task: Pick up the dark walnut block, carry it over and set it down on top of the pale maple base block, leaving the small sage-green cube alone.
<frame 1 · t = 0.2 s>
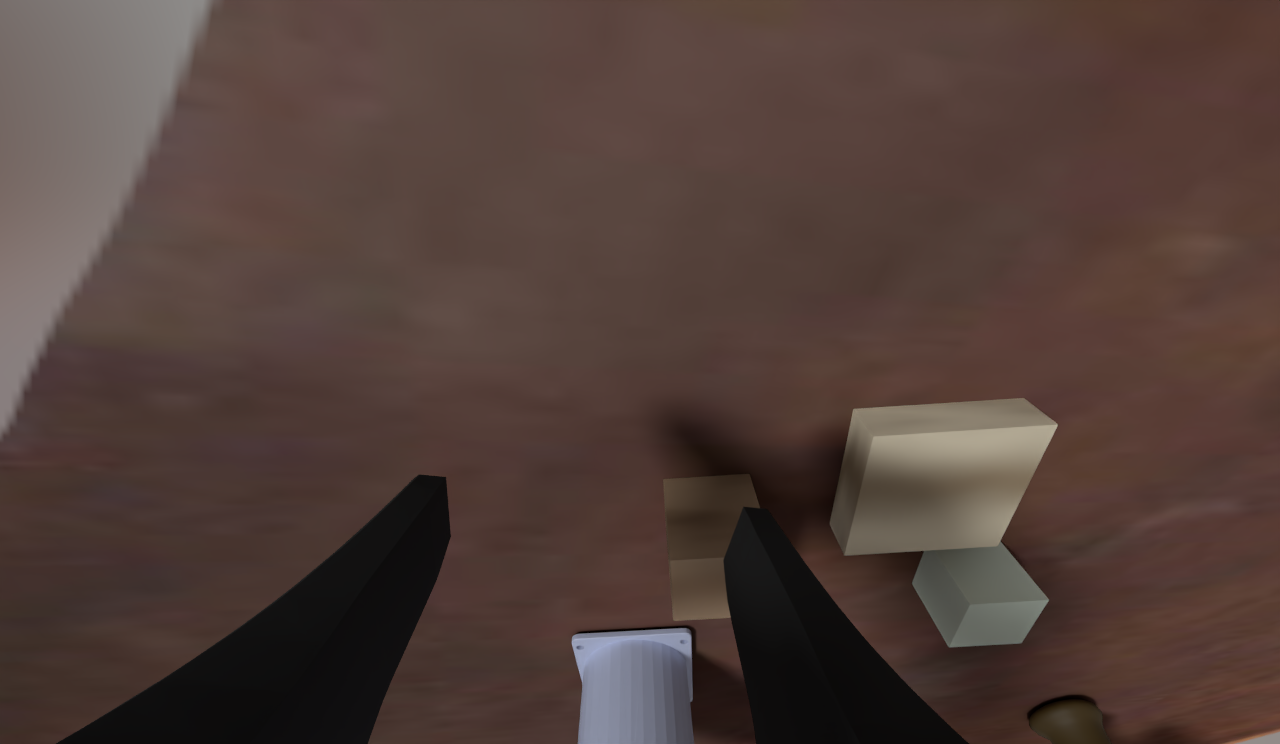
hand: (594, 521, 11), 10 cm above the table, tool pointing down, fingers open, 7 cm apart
kendama: (1055, 705, 38), on the table
sage cube: (952, 560, 28), on the table
walnut block: (705, 505, 25), on the table
maple base block: (913, 461, 24), on the table
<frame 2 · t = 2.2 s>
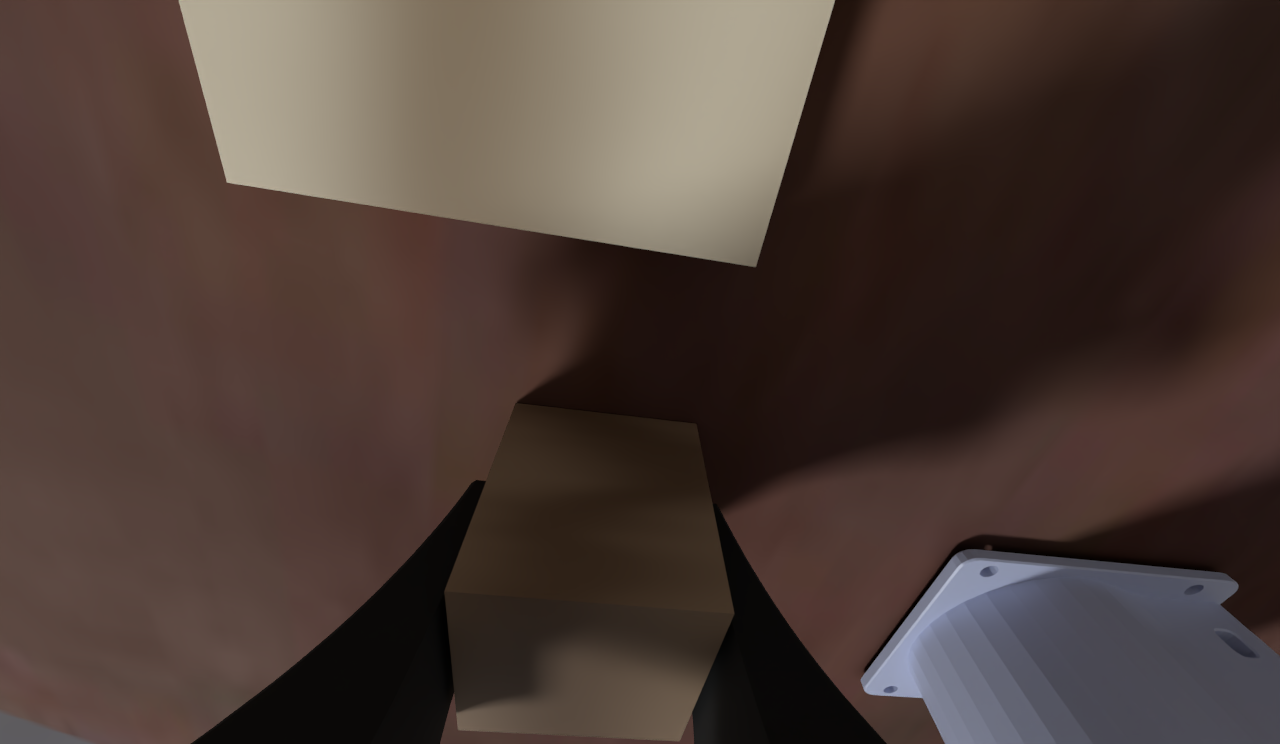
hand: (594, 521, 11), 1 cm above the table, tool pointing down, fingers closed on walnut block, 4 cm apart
walnut block: (598, 480, 13), on the table, touching gripper
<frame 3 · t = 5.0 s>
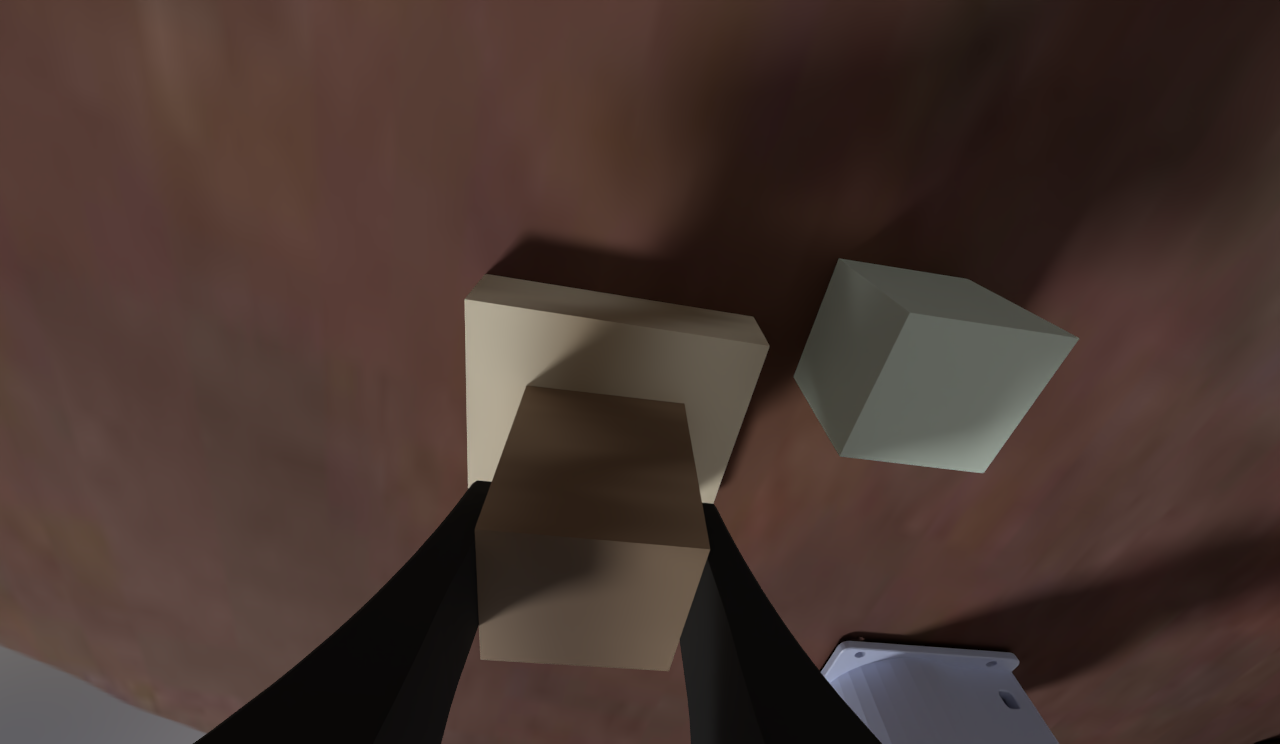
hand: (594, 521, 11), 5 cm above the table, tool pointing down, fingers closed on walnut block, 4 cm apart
sage cube: (874, 329, 14), on the table
walnut block: (598, 455, 14), point 2 cm above the table, touching gripper
maple base block: (605, 396, 16), on the table
when the fingers open (5 cm above the table, at t = 5.2 s): walnut block stays where it is, point 2 cm above the table.
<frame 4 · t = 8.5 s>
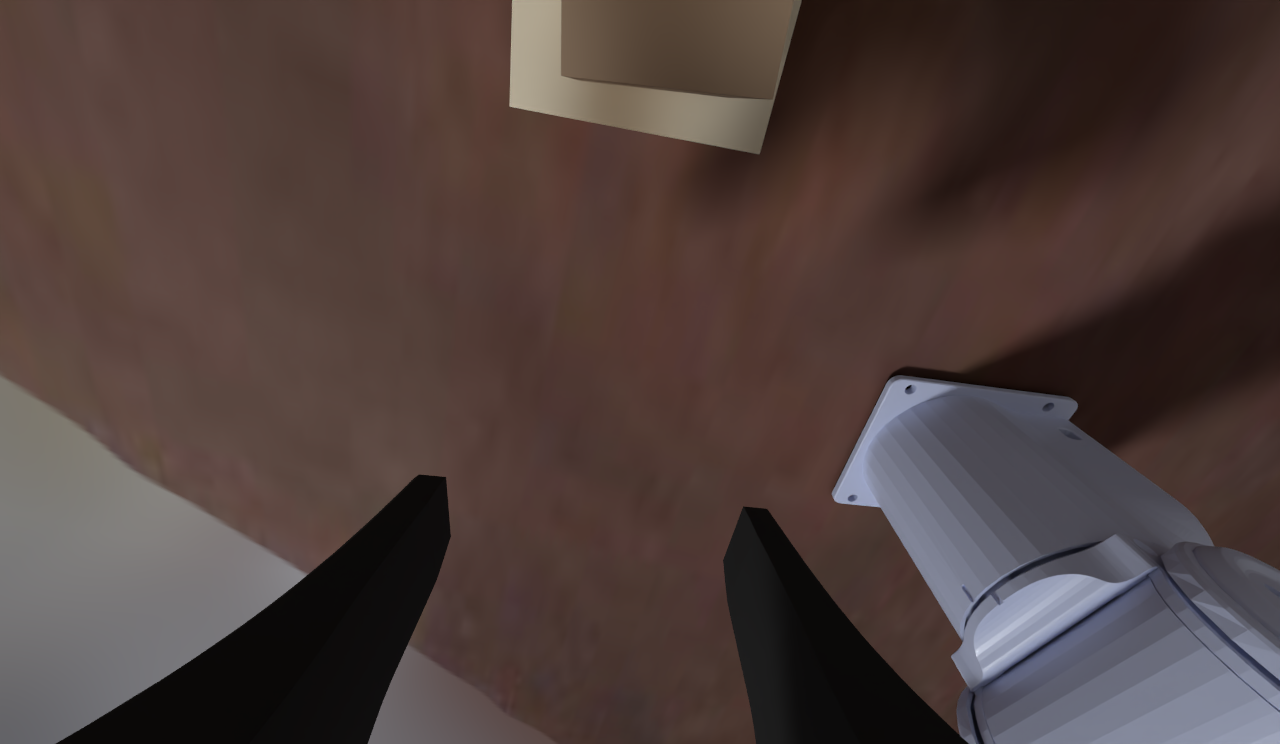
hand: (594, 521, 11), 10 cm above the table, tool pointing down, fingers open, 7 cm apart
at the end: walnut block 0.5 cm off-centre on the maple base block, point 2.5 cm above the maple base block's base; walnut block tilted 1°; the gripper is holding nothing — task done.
